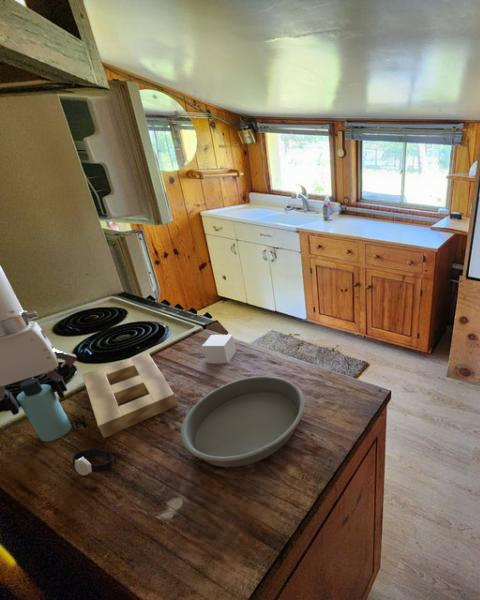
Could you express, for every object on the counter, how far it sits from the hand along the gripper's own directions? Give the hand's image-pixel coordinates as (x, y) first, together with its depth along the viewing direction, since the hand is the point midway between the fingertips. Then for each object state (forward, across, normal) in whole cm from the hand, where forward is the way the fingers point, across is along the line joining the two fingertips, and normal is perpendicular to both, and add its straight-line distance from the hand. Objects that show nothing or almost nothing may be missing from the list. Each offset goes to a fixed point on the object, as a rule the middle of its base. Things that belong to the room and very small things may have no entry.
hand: (39, 401), depth 66 cm
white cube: (+9, -35, -4) cm, 37 cm away
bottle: (+8, 0, 0) cm, 8 cm away
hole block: (+8, -14, -3) cm, 16 cm away
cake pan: (+9, -30, +27) cm, 41 cm away
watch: (+9, -4, +16) cm, 19 cm away
